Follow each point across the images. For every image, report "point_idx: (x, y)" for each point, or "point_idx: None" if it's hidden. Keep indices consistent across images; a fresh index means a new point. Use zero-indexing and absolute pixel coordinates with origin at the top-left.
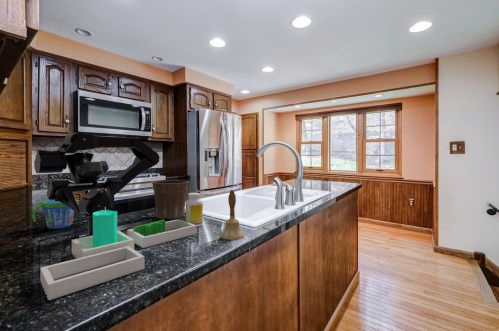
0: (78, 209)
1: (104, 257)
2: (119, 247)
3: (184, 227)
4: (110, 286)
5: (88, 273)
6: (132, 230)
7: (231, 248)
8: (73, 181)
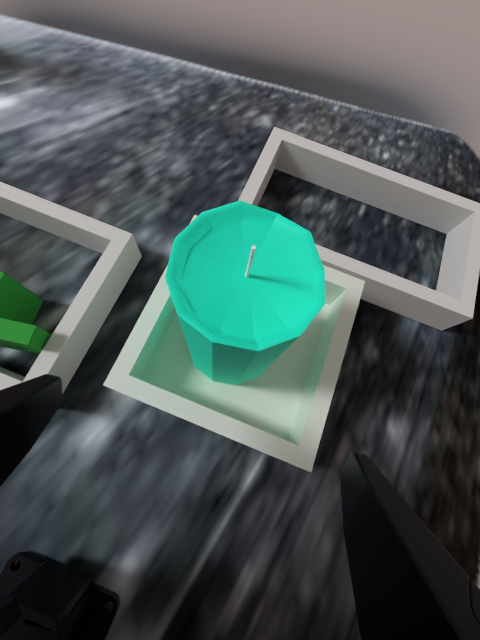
0: (365, 464)
1: None
2: None
3: None
4: None
5: (410, 178)
6: (36, 364)
7: (62, 33)
8: None
